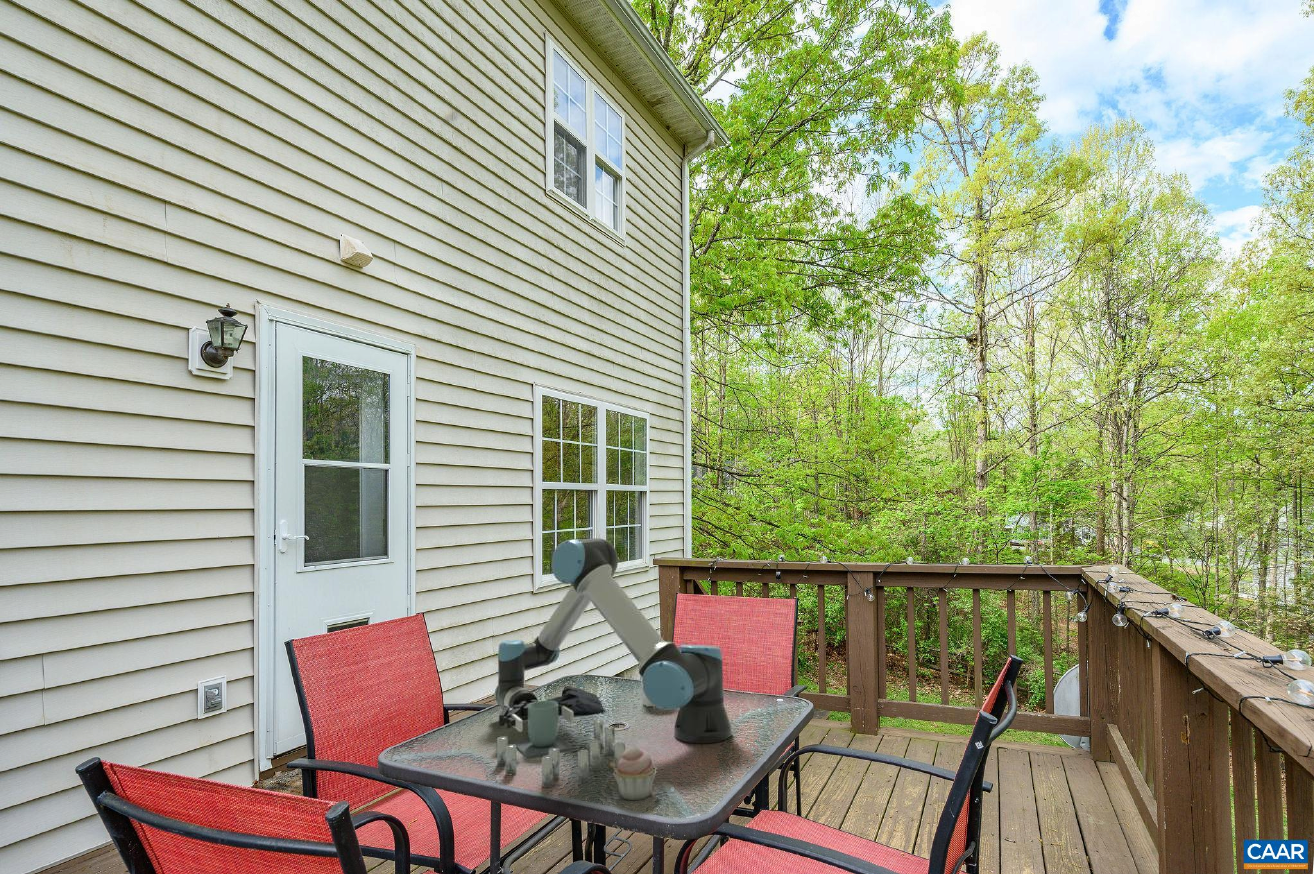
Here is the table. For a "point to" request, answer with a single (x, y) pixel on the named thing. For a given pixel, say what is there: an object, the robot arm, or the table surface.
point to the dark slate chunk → (580, 700)
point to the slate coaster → (534, 751)
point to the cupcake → (635, 774)
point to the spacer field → (552, 761)
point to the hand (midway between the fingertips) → (547, 721)
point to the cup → (543, 723)
